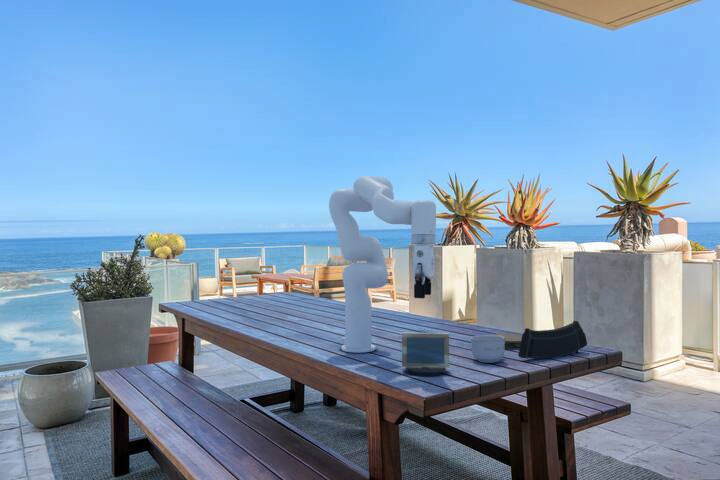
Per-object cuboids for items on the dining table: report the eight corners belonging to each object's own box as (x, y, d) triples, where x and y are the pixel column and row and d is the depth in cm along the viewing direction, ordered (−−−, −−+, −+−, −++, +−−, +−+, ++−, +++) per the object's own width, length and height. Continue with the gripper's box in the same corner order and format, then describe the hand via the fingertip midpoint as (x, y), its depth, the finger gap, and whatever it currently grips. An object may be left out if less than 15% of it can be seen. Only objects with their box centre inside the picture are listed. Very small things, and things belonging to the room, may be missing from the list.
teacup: (486, 366, 157) (486, 340, 157) (463, 359, 166) (463, 335, 167) (519, 361, 163) (519, 337, 163) (495, 355, 173) (495, 332, 173)
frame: (402, 363, 156) (402, 330, 156) (447, 363, 154) (447, 331, 154) (402, 366, 151) (402, 333, 151) (449, 367, 149) (449, 334, 150)
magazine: (519, 335, 161) (579, 302, 175) (512, 333, 164) (571, 302, 178) (531, 384, 163) (589, 348, 177) (523, 381, 166) (581, 346, 180)
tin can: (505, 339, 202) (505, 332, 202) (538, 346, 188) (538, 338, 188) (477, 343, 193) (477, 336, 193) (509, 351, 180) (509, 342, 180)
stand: (397, 370, 152) (397, 366, 152) (425, 364, 160) (425, 361, 160) (425, 378, 143) (425, 374, 143) (454, 372, 150) (454, 368, 150)
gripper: (430, 241, 145) (429, 300, 145) (440, 240, 161) (439, 294, 161) (404, 240, 147) (404, 299, 147) (417, 240, 163) (416, 292, 164)
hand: (422, 296), depth 154 cm, fingers open, 9 cm apart
